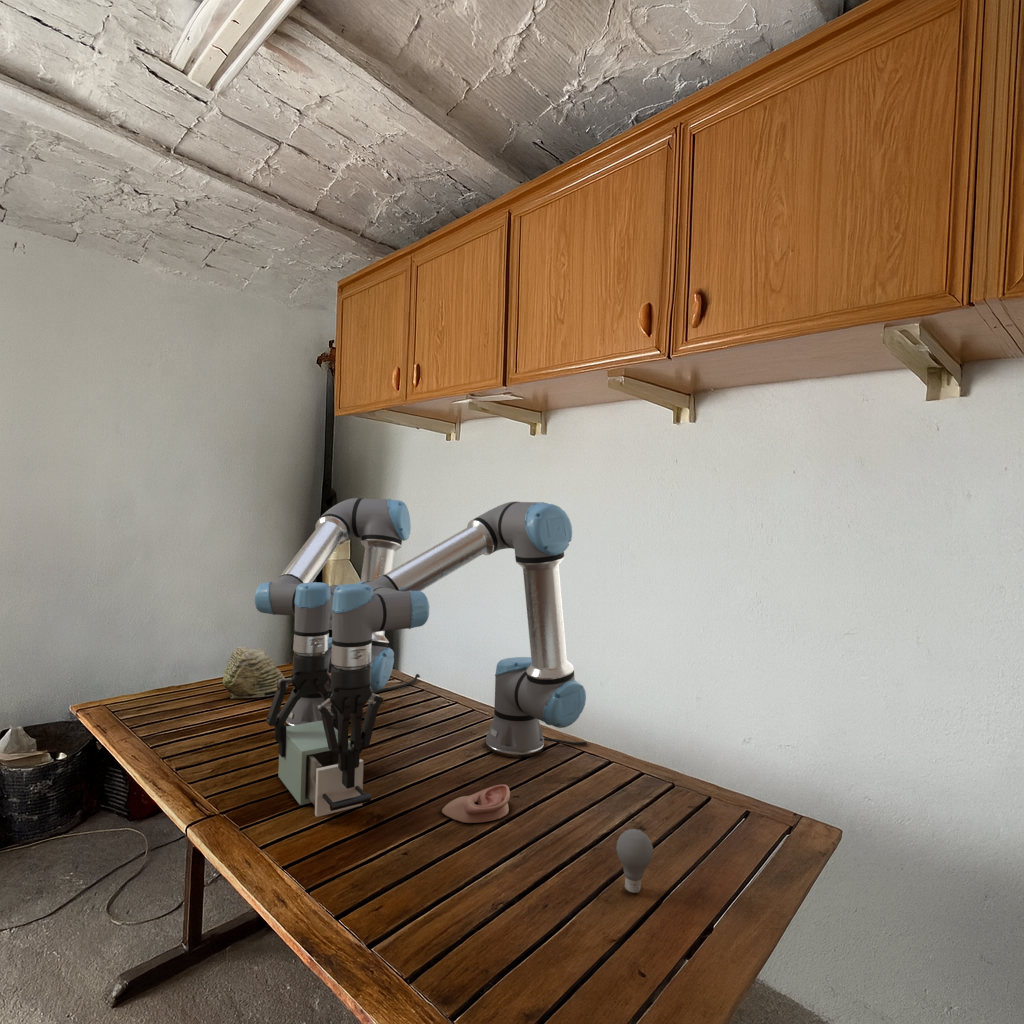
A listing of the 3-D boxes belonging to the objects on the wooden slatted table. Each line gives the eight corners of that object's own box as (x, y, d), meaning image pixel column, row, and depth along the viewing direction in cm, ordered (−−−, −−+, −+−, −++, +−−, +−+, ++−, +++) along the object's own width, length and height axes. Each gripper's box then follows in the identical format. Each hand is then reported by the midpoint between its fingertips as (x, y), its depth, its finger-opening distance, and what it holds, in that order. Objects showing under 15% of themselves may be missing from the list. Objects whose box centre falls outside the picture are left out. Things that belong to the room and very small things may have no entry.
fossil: (218, 695, 195) (220, 647, 195) (278, 685, 208) (279, 640, 207) (228, 703, 189) (230, 653, 188) (289, 692, 201) (290, 645, 201)
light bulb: (610, 879, 108) (613, 822, 108) (644, 879, 109) (647, 822, 109) (619, 902, 102) (622, 840, 102) (655, 901, 103) (658, 840, 103)
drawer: (374, 818, 123) (375, 771, 123) (327, 830, 118) (328, 782, 118) (336, 778, 140) (337, 737, 140) (293, 788, 135) (295, 745, 135)
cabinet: (349, 793, 135) (351, 742, 135) (300, 805, 129) (301, 751, 129) (324, 766, 148) (325, 719, 148) (278, 776, 142) (279, 727, 142)
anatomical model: (437, 799, 126) (454, 775, 137) (436, 818, 126) (453, 793, 138) (502, 808, 124) (514, 783, 135) (501, 828, 124) (513, 801, 135)
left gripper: (261, 661, 132) (258, 766, 133) (366, 650, 146) (362, 745, 146) (252, 653, 139) (249, 754, 139) (353, 643, 152) (350, 735, 152)
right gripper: (324, 674, 116) (321, 801, 116) (390, 665, 123) (387, 784, 124) (311, 664, 122) (308, 785, 122) (375, 656, 129) (371, 770, 130)
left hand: (307, 750), depth 142 cm, fingers closed on cabinet, 10 cm apart
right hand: (348, 784), depth 123 cm, fingers closed
